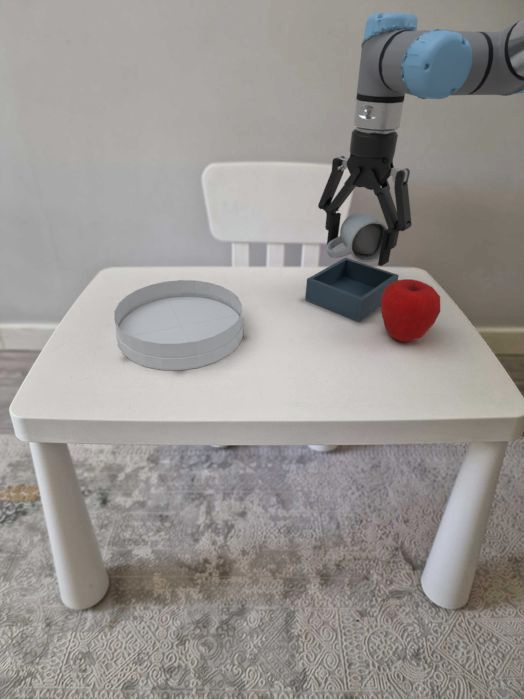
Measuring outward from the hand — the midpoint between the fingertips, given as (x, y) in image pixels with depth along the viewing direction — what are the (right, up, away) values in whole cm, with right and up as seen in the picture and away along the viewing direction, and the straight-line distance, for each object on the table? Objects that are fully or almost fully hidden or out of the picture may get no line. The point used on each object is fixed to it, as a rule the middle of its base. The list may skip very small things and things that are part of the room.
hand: (356, 254), depth 87 cm
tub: (0, -8, +5) cm, 9 cm away
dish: (-33, -15, -6) cm, 37 cm away
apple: (+7, -16, -6) cm, 18 cm away
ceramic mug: (0, 0, 0) cm, 1 cm away
